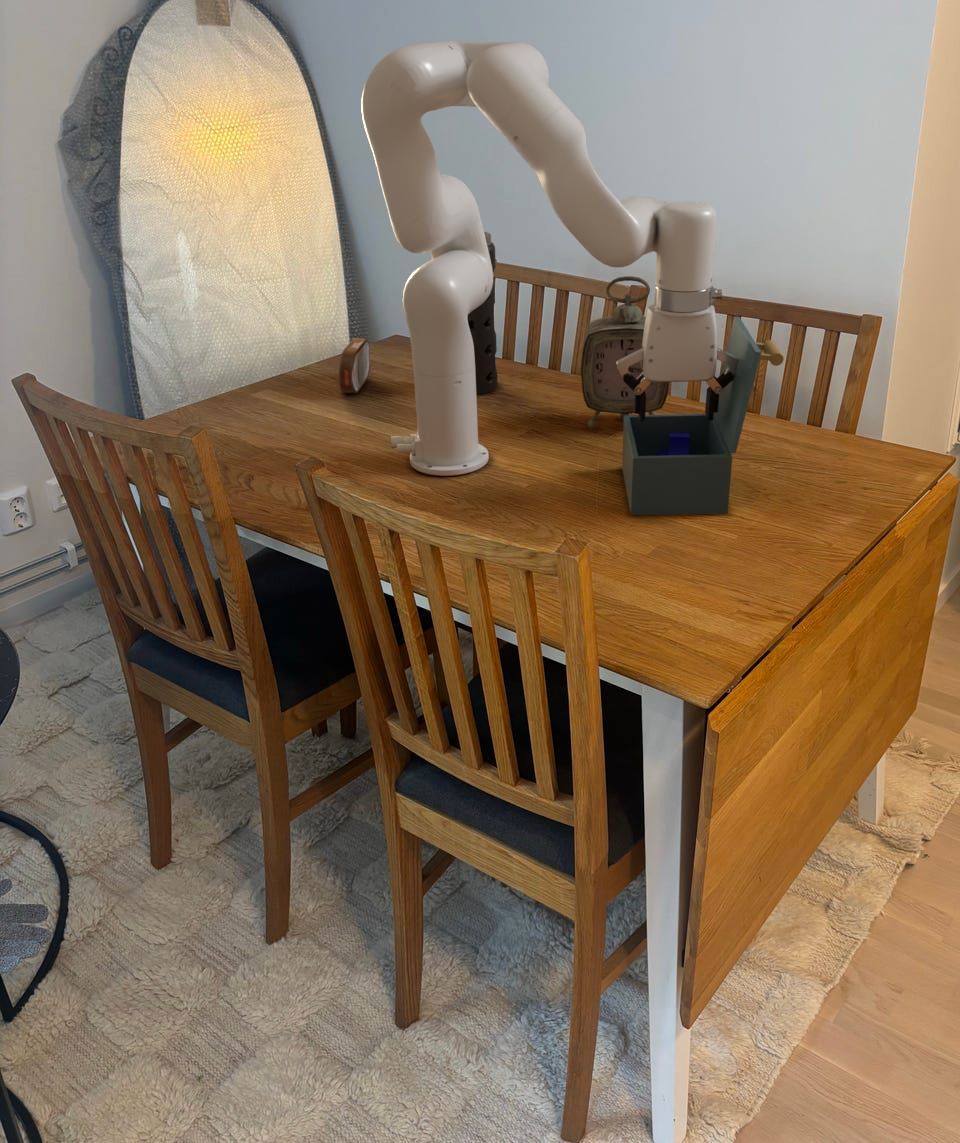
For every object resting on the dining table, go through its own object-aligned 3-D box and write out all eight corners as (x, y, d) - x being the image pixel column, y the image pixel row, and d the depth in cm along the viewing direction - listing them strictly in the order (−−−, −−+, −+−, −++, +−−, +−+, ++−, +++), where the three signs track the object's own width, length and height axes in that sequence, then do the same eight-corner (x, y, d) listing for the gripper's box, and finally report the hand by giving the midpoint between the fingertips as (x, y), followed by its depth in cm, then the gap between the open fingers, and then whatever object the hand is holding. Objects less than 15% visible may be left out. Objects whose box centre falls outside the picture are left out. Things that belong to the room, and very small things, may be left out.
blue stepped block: (657, 469, 164) (659, 432, 161) (687, 470, 163) (689, 433, 161) (655, 502, 154) (656, 464, 151) (686, 504, 153) (689, 465, 150)
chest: (631, 515, 152) (633, 458, 148) (622, 468, 167) (623, 415, 163) (727, 514, 152) (732, 456, 147) (710, 467, 166) (714, 413, 162)
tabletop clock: (580, 432, 181) (581, 283, 169) (582, 413, 188) (584, 269, 176) (667, 433, 179) (675, 282, 167) (666, 414, 187) (673, 268, 174)
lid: (755, 351, 140) (796, 356, 140) (734, 316, 155) (771, 321, 155) (730, 452, 147) (768, 457, 147) (711, 410, 162) (747, 414, 162)
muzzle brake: (443, 396, 198) (499, 395, 198) (434, 241, 185) (494, 239, 185) (445, 380, 207) (499, 378, 206) (437, 230, 193) (494, 228, 193)
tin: (359, 373, 212) (355, 331, 208) (374, 373, 212) (370, 331, 208) (339, 400, 199) (335, 355, 195) (356, 400, 199) (351, 356, 195)
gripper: (742, 290, 148) (731, 407, 157) (616, 292, 149) (612, 409, 158) (752, 305, 142) (740, 426, 150) (620, 307, 143) (616, 428, 151)
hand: (675, 417), depth 154 cm, fingers open, 9 cm apart
